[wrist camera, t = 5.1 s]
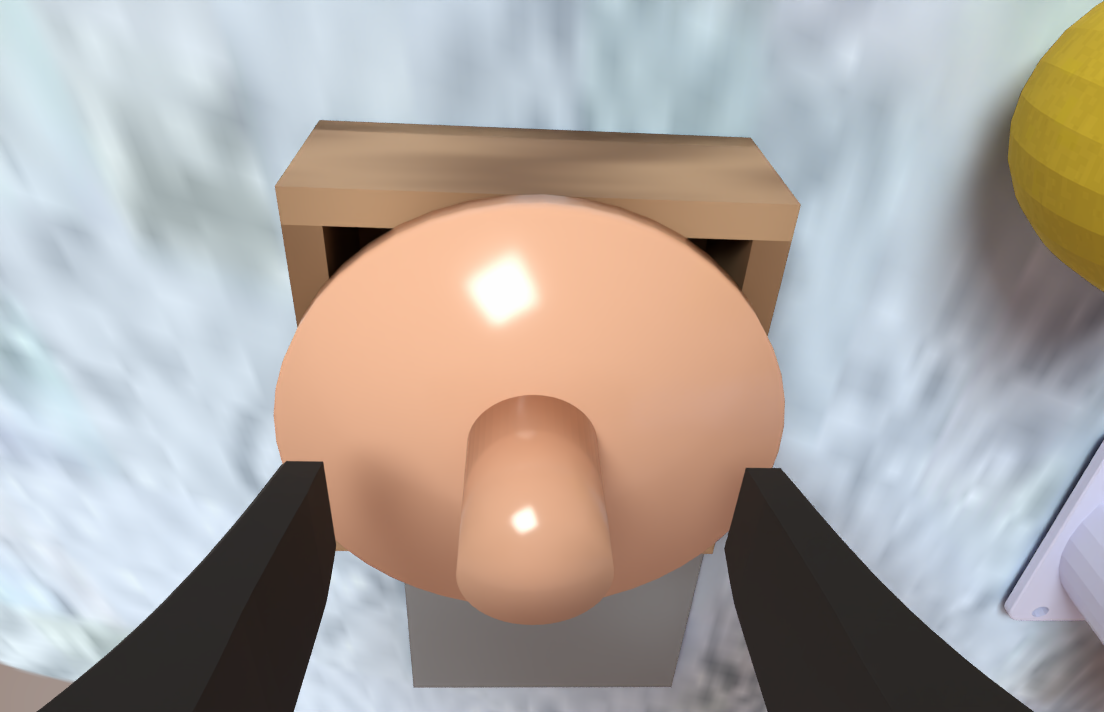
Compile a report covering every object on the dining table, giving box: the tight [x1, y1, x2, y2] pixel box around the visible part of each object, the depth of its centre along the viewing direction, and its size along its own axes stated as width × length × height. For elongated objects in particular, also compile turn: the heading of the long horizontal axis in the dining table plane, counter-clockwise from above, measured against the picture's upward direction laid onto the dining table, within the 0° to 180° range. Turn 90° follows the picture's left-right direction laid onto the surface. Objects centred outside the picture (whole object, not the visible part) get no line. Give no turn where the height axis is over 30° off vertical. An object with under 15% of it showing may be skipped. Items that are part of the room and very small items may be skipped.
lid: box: [274, 194, 785, 625], centre depth 14 cm, size 10×10×4 cm
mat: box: [405, 554, 703, 687], centre depth 24 cm, size 9×9×1 cm
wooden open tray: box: [275, 120, 801, 554], centre depth 17 cm, size 9×9×4 cm
